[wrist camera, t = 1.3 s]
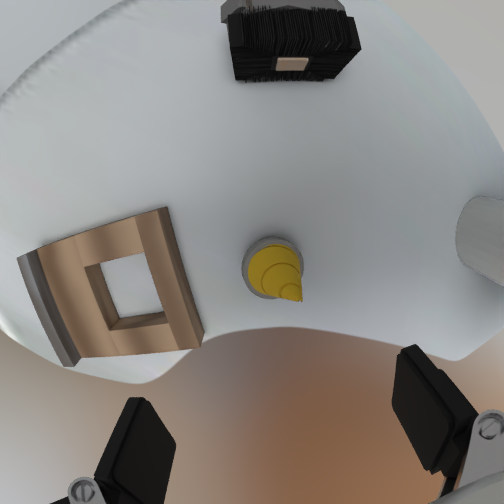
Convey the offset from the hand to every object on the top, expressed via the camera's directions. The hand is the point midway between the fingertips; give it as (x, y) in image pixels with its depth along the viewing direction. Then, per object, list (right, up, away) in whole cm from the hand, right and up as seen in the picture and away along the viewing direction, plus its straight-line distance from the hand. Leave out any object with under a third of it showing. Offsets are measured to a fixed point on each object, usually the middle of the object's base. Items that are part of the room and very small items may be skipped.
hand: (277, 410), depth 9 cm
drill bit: (0, +5, +19) cm, 20 cm away
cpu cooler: (+2, +24, +14) cm, 28 cm away
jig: (-16, +2, +20) cm, 26 cm away
